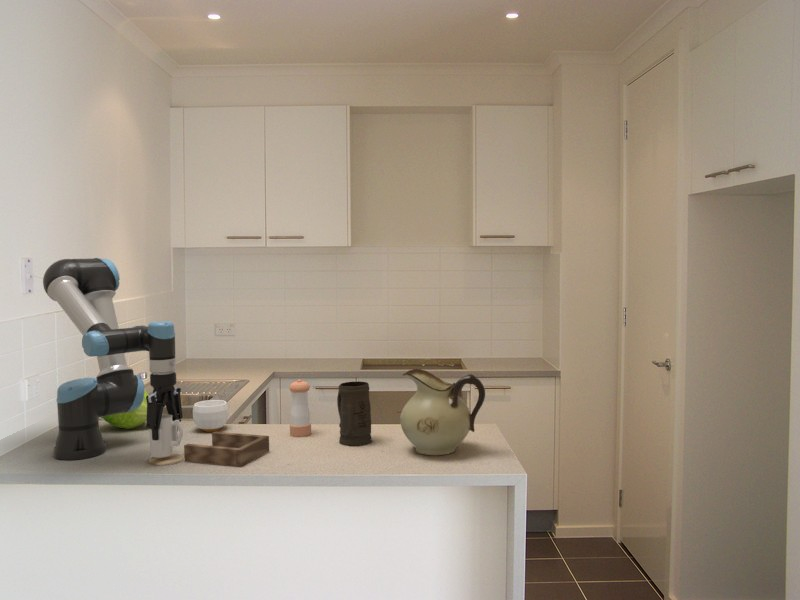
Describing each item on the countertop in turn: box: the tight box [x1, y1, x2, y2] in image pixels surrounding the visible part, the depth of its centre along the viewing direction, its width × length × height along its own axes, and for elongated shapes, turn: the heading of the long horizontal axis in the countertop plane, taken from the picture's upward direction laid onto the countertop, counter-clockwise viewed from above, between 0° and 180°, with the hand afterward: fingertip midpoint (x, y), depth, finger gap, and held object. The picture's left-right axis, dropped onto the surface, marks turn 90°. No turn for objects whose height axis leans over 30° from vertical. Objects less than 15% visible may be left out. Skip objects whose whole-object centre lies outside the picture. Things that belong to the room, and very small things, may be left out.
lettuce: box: [102, 388, 150, 430], centre depth 255 cm, size 17×20×15 cm
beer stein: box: [336, 380, 373, 447], centre depth 232 cm, size 15×11×20 cm
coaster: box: [148, 453, 185, 466], centre depth 213 cm, size 10×10×1 cm
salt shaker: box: [288, 379, 312, 438], centre depth 241 cm, size 7×7×19 cm
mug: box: [149, 413, 184, 458], centre depth 213 cm, size 10×7×12 cm, turn 88°
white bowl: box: [192, 399, 229, 433], centre depth 250 cm, size 12×12×10 cm
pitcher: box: [399, 368, 486, 456], centre depth 219 cm, size 22×24×25 cm
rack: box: [183, 431, 270, 468], centre depth 217 cm, size 20×17×5 cm
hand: (165, 446), depth 213 cm, fingers open, 7 cm apart
